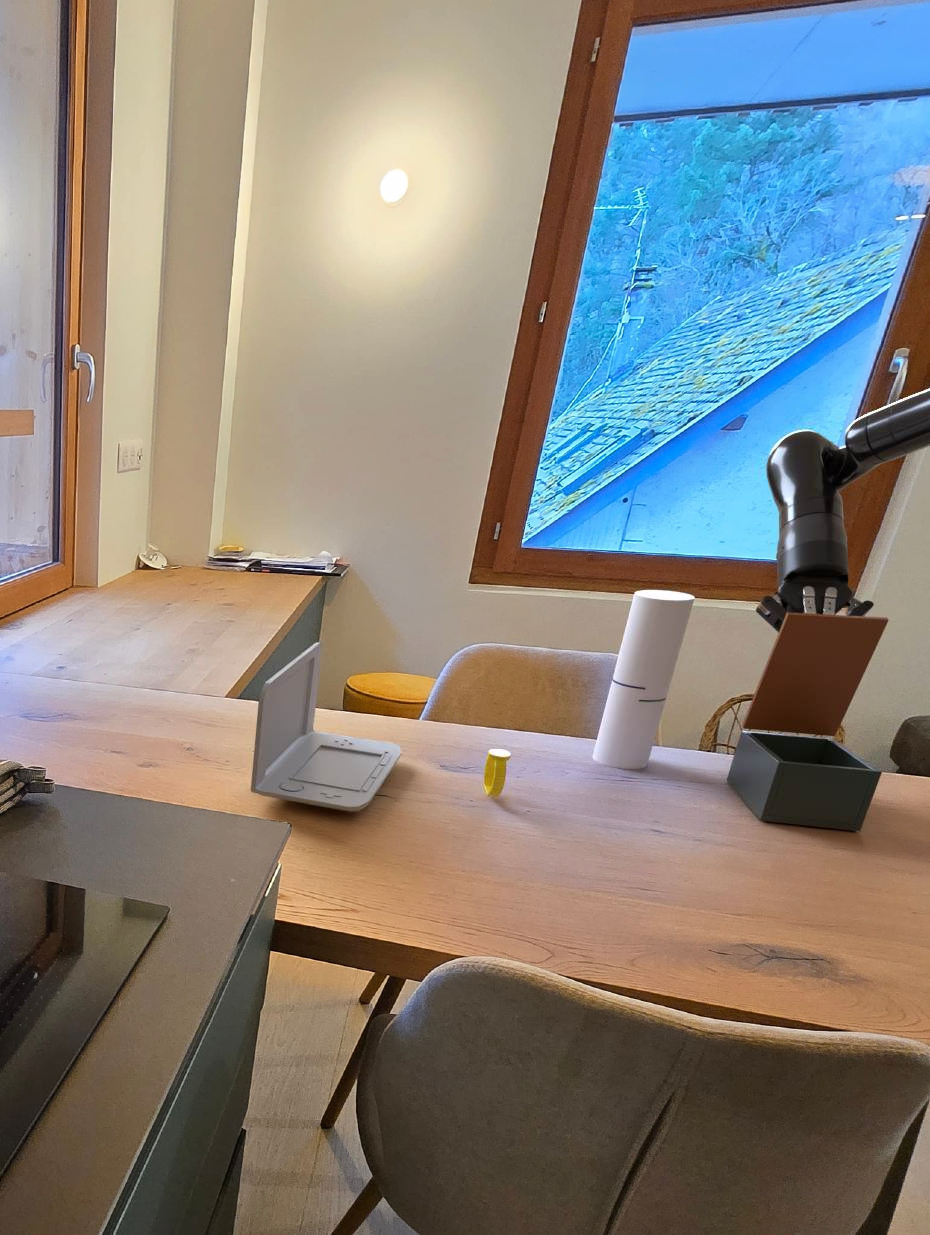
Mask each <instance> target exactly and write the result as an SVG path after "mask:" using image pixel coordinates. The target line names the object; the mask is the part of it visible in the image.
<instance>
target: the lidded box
mask: <svg viewBox="0 0 930 1235" xmlns="http://www.w3.org/2000/svg"><path fill="white" fill-rule="evenodd" d="M882 774H883V772H882V771H881V769H878V768H877V767H875V766H874V765H873V764H872V763H870V762H868V761H867V760H865V759H864V758H863V757H861V756H859V755H858V754H857V753H855V752H853V751H852V750H850V748H848V747H846V746H845V745H843V744H842V743H840V742H839V741H837V740H836V739H834V737H833V738H831V737H822V736H821V737H820V736H809V735H799V734H798V735H796V734H786V733H785V734H784V733H774V732H763V731H762V732H761V731H751V730H750V731H748V730H741V731H740V734H739V738H738V741H737V744H736V748H735V751H734V754H733V757H732V761H731V764H730V767H729V771H728V774H727V777H726V782H727V784H729V786H730V787H731V789H732V790H733V791H734V792H735V794H736V795H737V797H738V798H739V799H740V801H741V802H742V803H743V804H744V805H745V806H746V808H748V809H749V810H750V812H752V814H753V815H754V816H755V817H756V818H757V819H758V820H759V821H762V822H772V823H781V824H789V825H798V826H809V827H817V828H826V829H835V830H844V831H853V832H861V830H862V827H863V826H864V822H865V819H866V817H867V814H868V811H869V809H870V807H871V803H872V801H873V797H874V796H875V793H876V790H877V787H878V784H879V782H880V779H881V776H882Z"/></svg>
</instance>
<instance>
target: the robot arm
mask: <svg viewBox="0 0 930 1235" xmlns="http://www.w3.org/2000/svg"><path fill="white" fill-rule="evenodd" d="M929 447H930V388H928V389H925V390H923V391H920V392H917V393H915V394H912V395H909V396H908V397H904V398H903V399H899V400H898V401H896V402H893V403H891V404H887V405H886V406H883V407H881V408H879V409H877V410H873V411H871V412H868V413H867V414H864V415H863V416H861V417H859V418H857V419H856V420H855V419H854V421H853V422H852V423H851V424H850V425H849V426H848V427H847V429H846V431H845V435H844V446H840V447H839V446H837V445H836V444H835V443H834V442H832V441H831V440H829V439H828V438H827V437H826V436H823V435H822V434H820V433H819V432H817V431H815V430H809V429H802V430H796V431H793V432H790V433H788V434H787V435H786V436H784V437H783V438H781V439H780V440H779V441H777V443H776V444H775V445H774V447H773V448H772V449H771V451H770V452H769V455H768V457H767V461H766V466H765V472H766V479H767V483H768V486H769V490H770V493H771V495H772V499H773V501H774V504H775V505H776V508H777V512H778V541H777V545H776V546H777V547H776V555H775V559H776V564H777V567H776V569H777V571H776V572H777V574H776V575H777V576H776V577H777V590H776V592H775V593H774V595H772V596H771V595H766V596H764V597H763V598H762V599H761V601H760V602H759V604H758V605H757V607H756V608H755V612H756V613H757V614H758V615H759V616H760V617H761V618H762V619H763V620H764V621H765V622H766V623H768V624H769V625H770V627H772V628H773V630H775V631H776V632H777V633H778V634H779V631H780V629H781V626H782V623H783V621H784V618H785V616H786V613H787V612H788V613H808V614H827V615H838V613H839V612H840V611H842V609H844V607H846V610H845V612H844V613H845V614H844V615H847V616H866V615H867V614H868V613H869V612H870V611H871V610H872V608H873V607H874V606H875V604H874V602H873V601H871V600H869V599H867V600H864V601H861V600H859V599H857V598H855V597H854V592H853V589H852V588H850V585H849V577H850V572H849V571H850V570H849V552H848V551H849V550H848V536H847V531H846V528H845V520H844V504H843V498H842V496H841V494H840V492H839V491H841V490H842V489H844V488H845V487H847V486H848V485H850V484H852V483H853V482H854V481H856V480H859V479H860V478H861V477H864V476H865V475H867V474H868V473H870V472H871V471H872V470H874V469H875V468H877V467H878V466H880V465H882V464H885V463H888V462H890V461H893V460H897V459H899V458H902V457H904V456H907V455H910V454H913V453H915V452H918V451H920V450H924V449H926V448H929Z"/></svg>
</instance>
